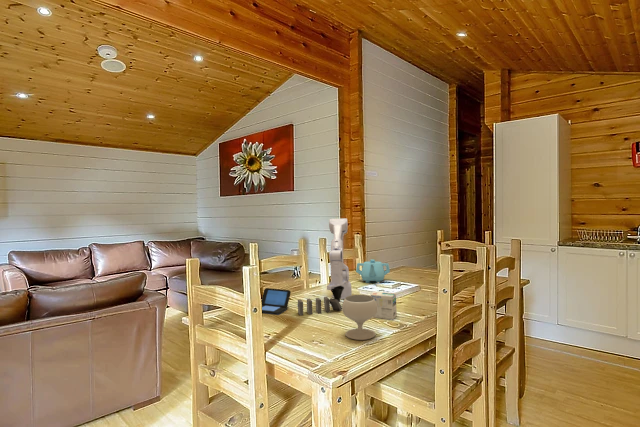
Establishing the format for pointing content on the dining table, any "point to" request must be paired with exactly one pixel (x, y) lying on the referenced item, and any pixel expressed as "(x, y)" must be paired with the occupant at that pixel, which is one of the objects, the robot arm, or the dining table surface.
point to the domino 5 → (335, 304)
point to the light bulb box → (385, 304)
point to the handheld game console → (275, 301)
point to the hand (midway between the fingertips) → (337, 301)
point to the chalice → (359, 314)
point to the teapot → (372, 270)
